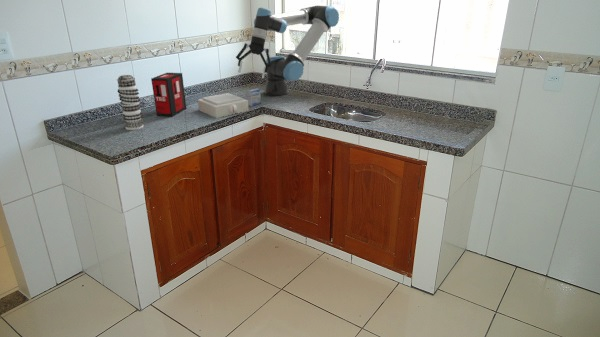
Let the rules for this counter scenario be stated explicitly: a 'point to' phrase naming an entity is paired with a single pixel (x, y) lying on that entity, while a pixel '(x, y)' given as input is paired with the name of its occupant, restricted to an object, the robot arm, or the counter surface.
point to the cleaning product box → (169, 94)
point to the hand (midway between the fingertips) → (250, 75)
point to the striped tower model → (130, 102)
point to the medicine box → (253, 97)
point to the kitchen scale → (222, 105)
